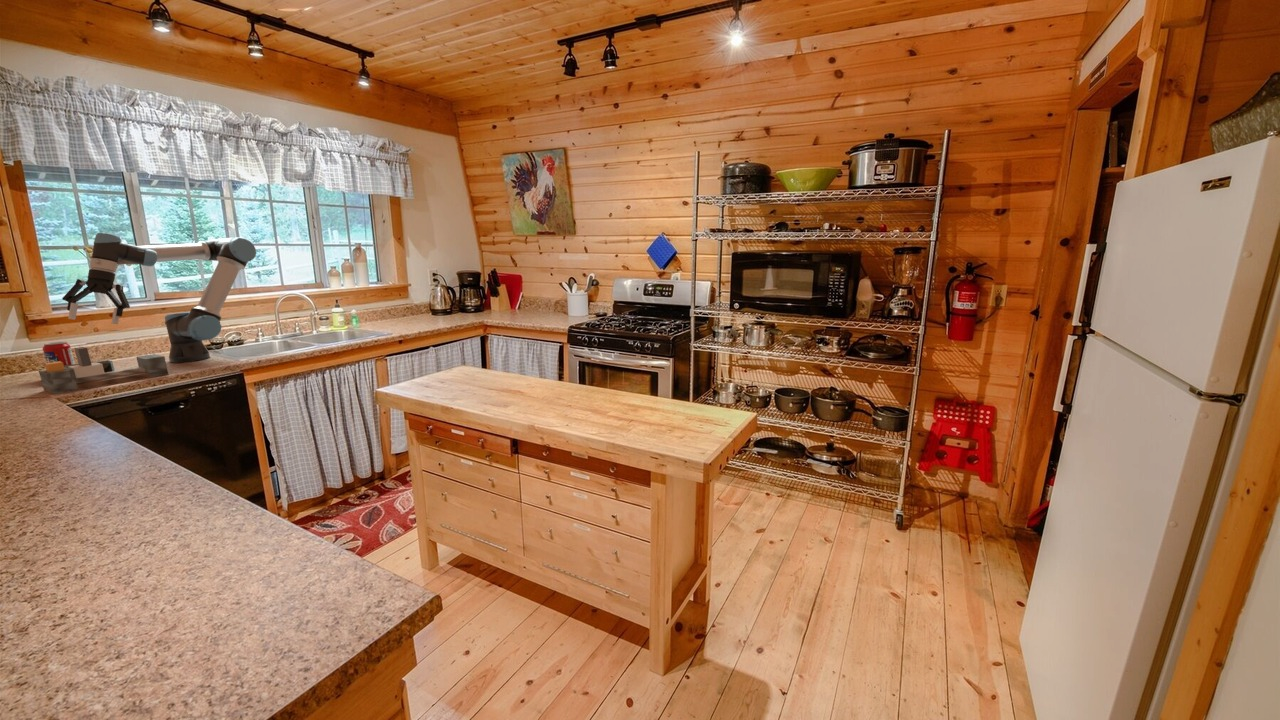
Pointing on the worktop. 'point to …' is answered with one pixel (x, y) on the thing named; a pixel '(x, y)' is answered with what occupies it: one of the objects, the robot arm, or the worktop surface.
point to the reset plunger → (54, 366)
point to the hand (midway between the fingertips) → (93, 321)
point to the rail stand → (103, 376)
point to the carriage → (85, 364)
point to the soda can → (58, 353)
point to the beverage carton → (106, 364)
